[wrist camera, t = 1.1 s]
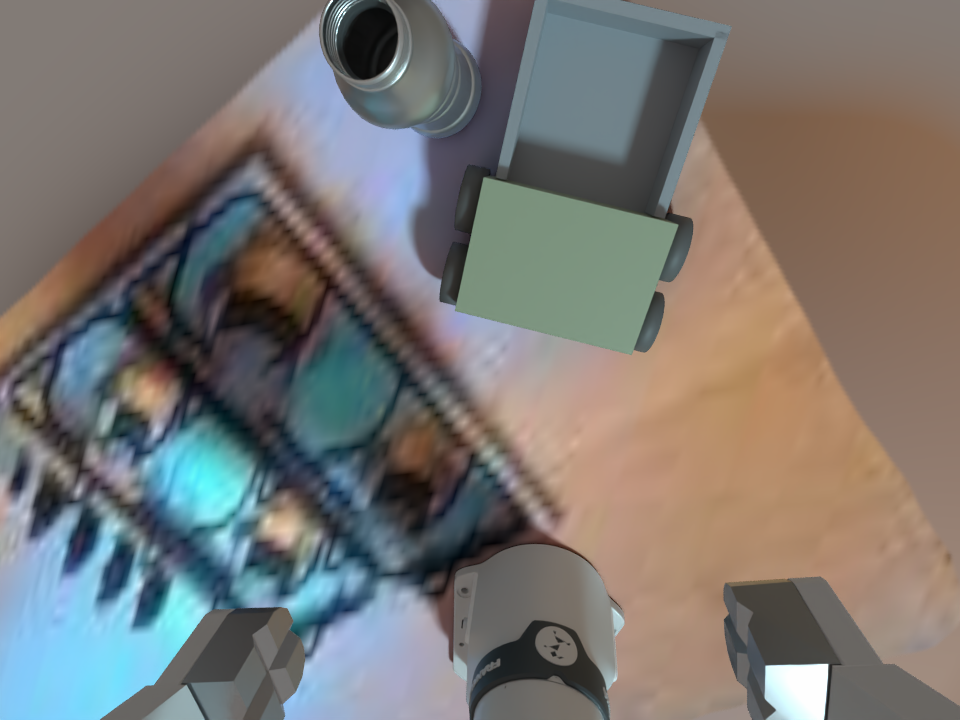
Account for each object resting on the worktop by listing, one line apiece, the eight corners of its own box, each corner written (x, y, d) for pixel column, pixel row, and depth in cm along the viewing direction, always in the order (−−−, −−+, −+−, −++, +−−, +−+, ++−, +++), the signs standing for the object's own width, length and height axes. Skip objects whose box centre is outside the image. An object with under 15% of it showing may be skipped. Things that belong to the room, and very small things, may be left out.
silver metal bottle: (499, 66, 39) (461, -21, 21) (464, 154, 42) (402, 147, 23) (421, 27, 39) (311, -96, 20) (390, 119, 41) (267, 83, 23)
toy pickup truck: (636, 341, 46) (649, 365, 40) (446, 293, 46) (433, 311, 40) (741, 49, 37) (777, 28, 32) (508, -6, 38) (502, -36, 32)
